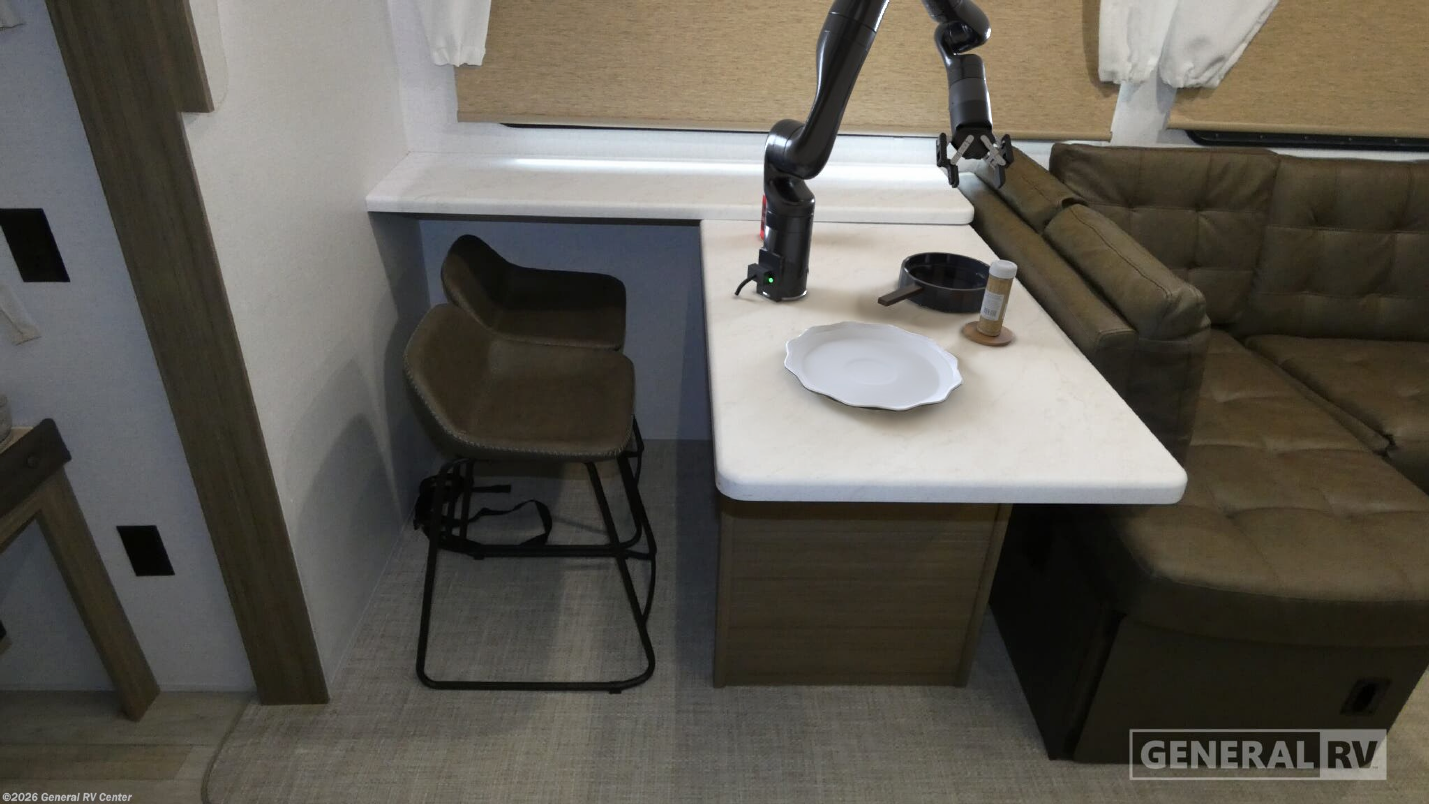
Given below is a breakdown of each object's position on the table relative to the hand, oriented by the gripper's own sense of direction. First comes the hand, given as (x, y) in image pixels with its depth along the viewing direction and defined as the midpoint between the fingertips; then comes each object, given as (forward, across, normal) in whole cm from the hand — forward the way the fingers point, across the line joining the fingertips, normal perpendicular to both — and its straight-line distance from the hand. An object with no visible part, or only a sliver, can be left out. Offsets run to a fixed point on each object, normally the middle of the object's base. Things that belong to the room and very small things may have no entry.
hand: (977, 186), depth 156 cm
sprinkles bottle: (+27, +1, +4) cm, 28 cm away
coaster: (+28, +1, +5) cm, 28 cm away
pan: (+15, -1, +18) cm, 23 cm away
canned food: (-6, -32, +39) cm, 50 cm away
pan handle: (+19, -14, +9) cm, 25 cm away
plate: (+38, -25, -5) cm, 45 cm away
